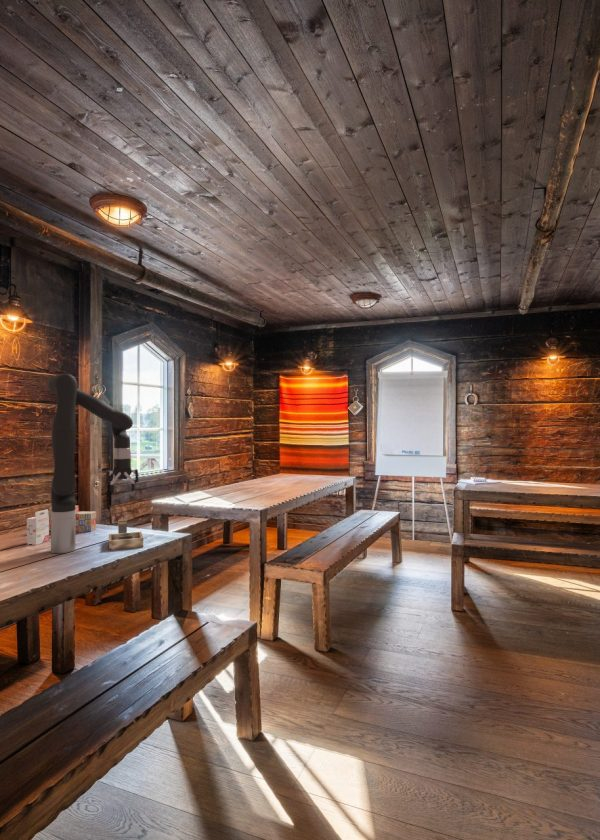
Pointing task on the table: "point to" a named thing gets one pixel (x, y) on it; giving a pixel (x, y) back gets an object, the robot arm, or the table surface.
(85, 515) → the multicoloured rectangular block
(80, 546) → the table surface
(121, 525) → the connector
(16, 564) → the table surface
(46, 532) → the ink cartridge box
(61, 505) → the robot arm
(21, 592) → the table surface
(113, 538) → the box
